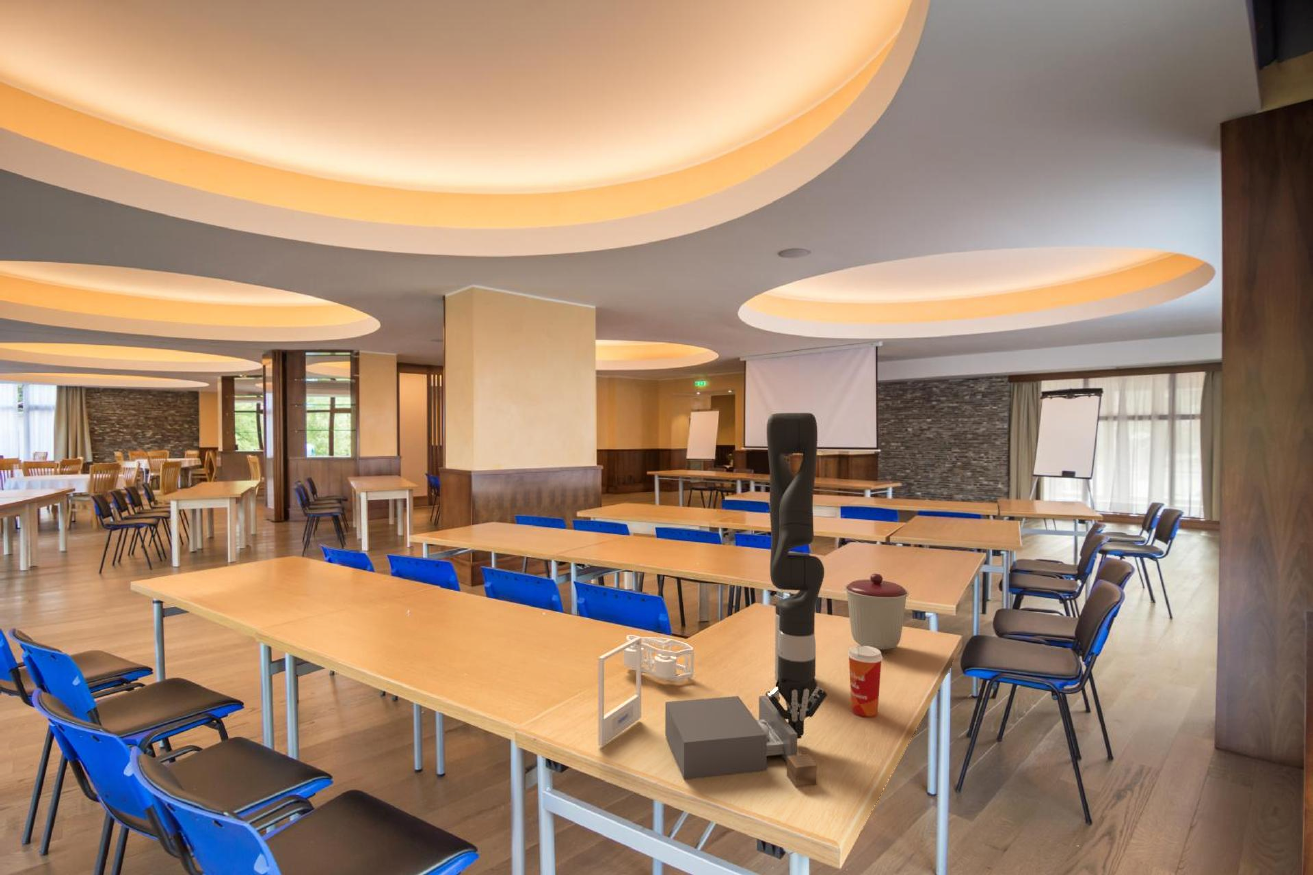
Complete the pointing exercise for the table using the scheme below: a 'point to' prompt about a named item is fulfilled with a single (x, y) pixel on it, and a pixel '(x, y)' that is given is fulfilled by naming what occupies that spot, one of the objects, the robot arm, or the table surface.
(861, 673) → the paper cup
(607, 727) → the photo frame
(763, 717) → the grey drawer
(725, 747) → the grey drawer box
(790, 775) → the block
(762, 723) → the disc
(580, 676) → the table surface
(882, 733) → the table surface
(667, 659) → the cup holder
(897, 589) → the canister
